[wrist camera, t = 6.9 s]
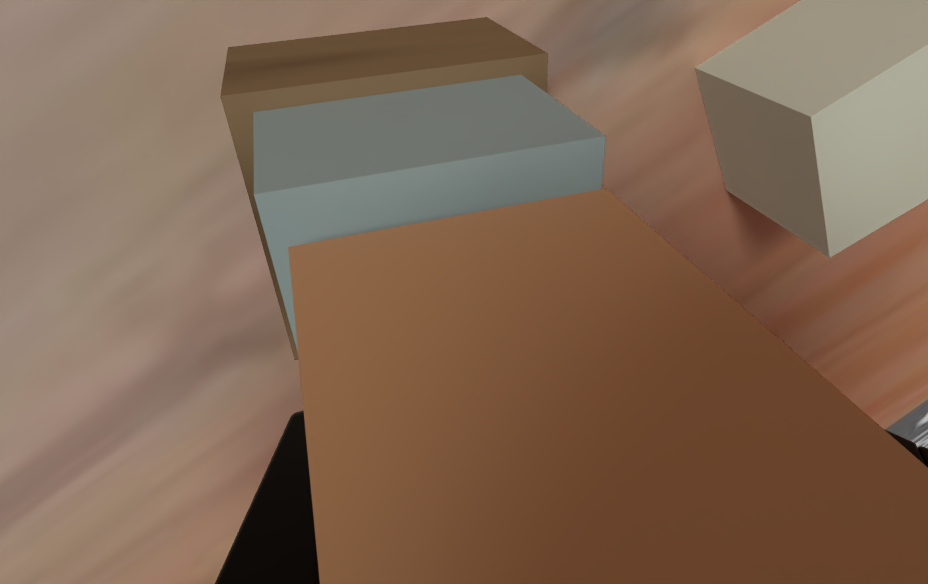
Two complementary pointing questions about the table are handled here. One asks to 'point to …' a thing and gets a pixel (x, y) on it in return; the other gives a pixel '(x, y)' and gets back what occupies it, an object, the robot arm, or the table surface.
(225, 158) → the table surface
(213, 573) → the table surface
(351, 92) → the walnut base block
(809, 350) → the table surface
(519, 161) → the slate block
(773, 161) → the cream cube
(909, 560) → the tan block
